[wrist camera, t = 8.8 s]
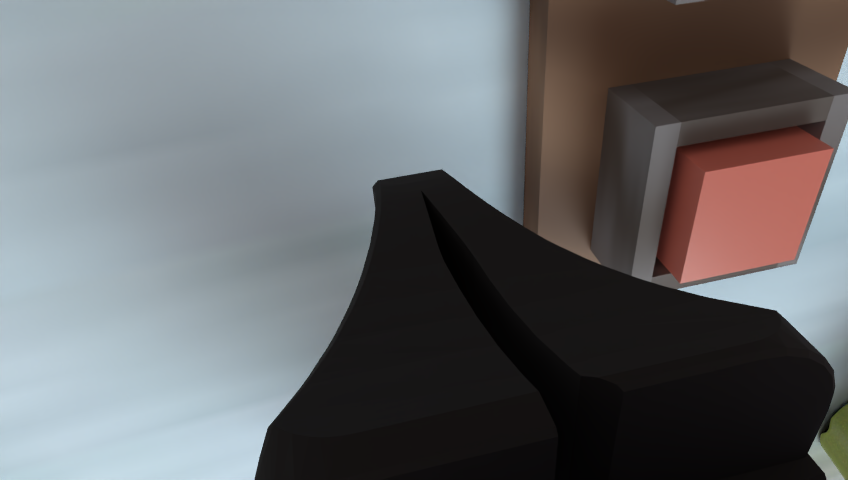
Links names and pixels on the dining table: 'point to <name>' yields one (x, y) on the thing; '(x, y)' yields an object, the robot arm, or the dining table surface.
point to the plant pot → (837, 441)
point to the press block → (663, 108)
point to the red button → (740, 202)
